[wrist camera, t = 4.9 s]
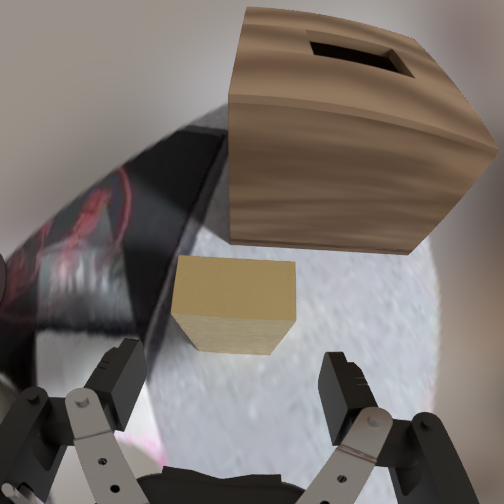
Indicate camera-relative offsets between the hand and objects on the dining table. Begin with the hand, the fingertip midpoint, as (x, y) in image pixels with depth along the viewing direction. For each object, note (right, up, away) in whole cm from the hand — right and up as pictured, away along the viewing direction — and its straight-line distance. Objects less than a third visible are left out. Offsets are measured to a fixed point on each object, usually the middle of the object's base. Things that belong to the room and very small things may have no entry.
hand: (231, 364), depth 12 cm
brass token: (0, -1, +9) cm, 9 cm away
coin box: (+7, +12, +16) cm, 21 cm away
